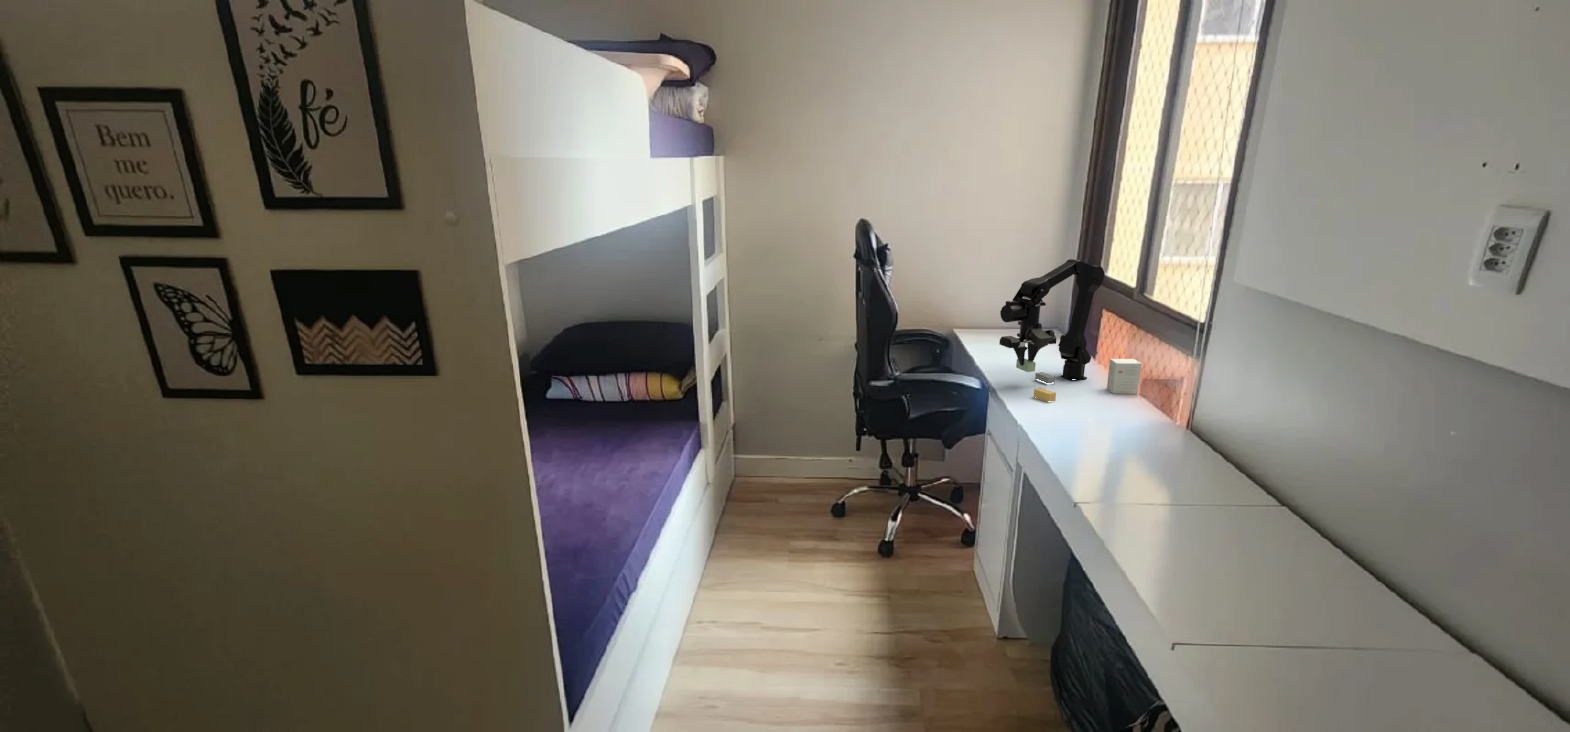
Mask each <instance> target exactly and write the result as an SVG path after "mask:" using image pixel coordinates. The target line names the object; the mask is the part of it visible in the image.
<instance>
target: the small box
mask: <svg viewBox="0 0 1570 732" xmlns="http://www.w3.org/2000/svg"><path fill="white" fill-rule="evenodd" d="M1141 369H1142V363H1141V362H1140V361H1138V360H1136V359H1135V358H1110V359H1109V364H1108V373H1107V381H1106V382H1107V384H1106V390H1108V391H1109V392H1110V393H1112V394H1113V395H1115V394H1117V395H1122V394H1123V395H1125V394H1127V395H1128V394H1129V395H1133V394H1134V395H1137V394H1138V392H1139V383H1140V377H1141Z"/></svg>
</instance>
